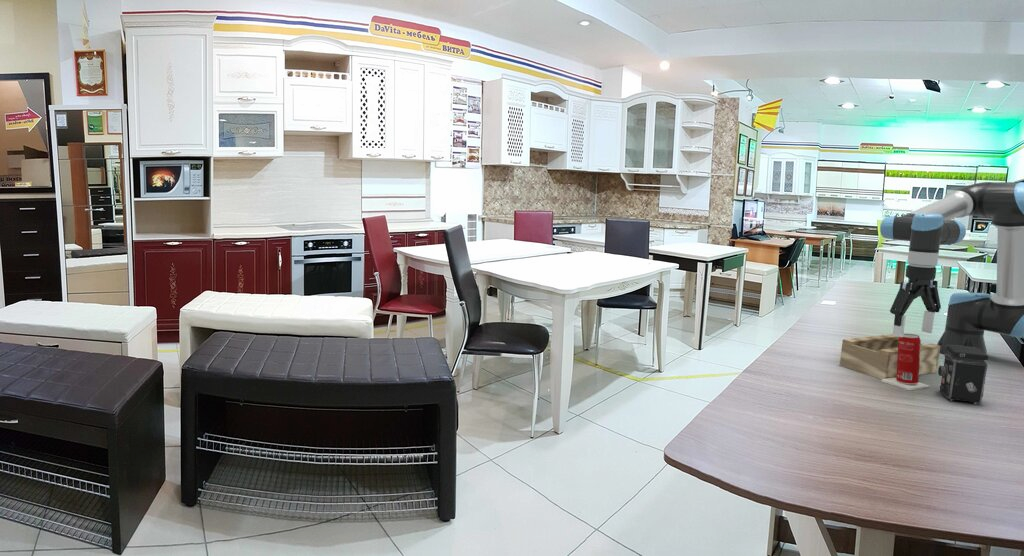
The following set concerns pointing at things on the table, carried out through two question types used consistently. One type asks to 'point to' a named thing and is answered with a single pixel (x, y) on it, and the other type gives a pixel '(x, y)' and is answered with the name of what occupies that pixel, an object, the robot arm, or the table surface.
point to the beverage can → (908, 359)
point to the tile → (904, 386)
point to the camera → (963, 373)
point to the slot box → (883, 356)
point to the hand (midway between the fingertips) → (912, 334)
